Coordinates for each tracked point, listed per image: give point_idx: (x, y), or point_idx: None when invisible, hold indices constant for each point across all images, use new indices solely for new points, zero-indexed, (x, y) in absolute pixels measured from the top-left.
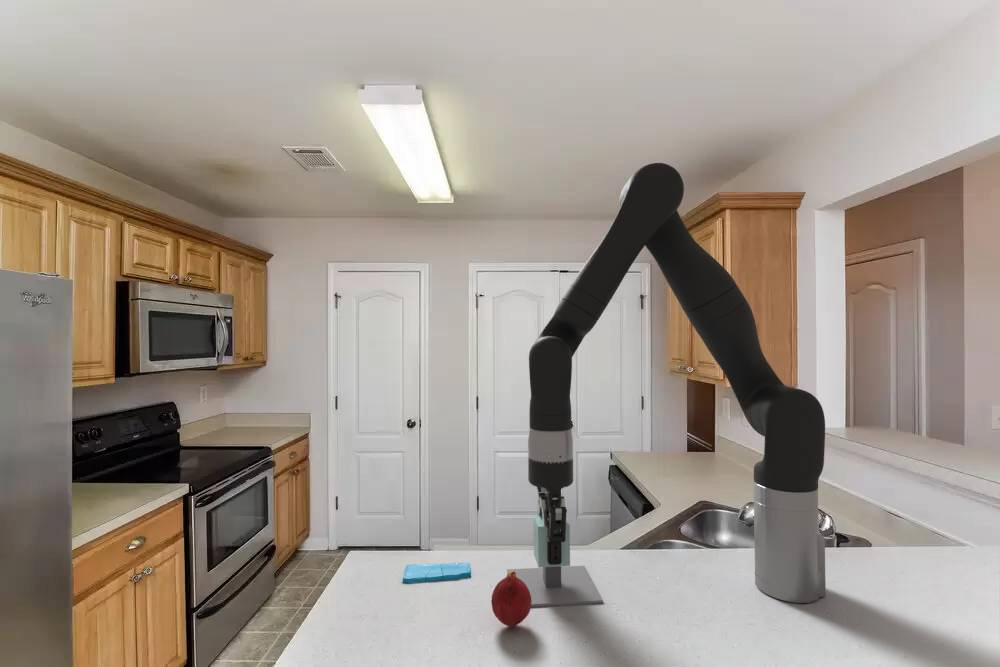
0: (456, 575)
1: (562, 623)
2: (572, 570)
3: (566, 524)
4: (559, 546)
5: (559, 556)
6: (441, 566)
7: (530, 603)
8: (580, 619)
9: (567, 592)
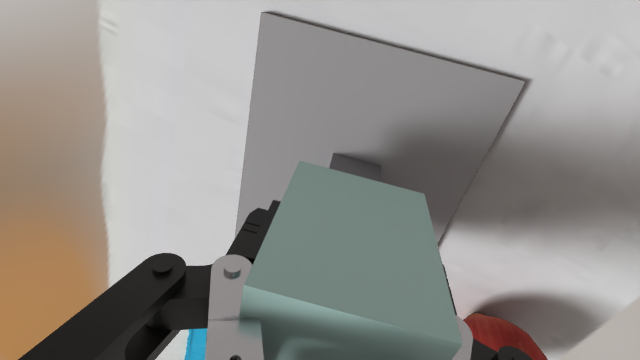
0: None
1: (534, 233)
2: (288, 79)
3: (435, 349)
4: (454, 311)
5: (445, 276)
6: (199, 344)
7: (540, 354)
8: (550, 187)
9: (418, 164)
